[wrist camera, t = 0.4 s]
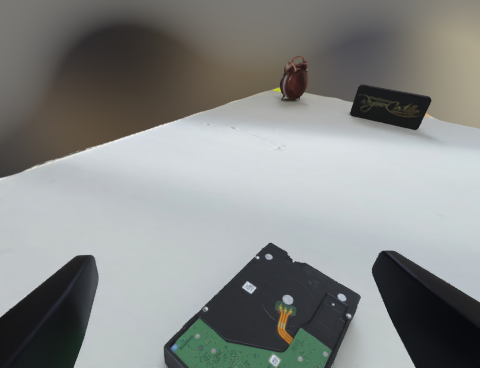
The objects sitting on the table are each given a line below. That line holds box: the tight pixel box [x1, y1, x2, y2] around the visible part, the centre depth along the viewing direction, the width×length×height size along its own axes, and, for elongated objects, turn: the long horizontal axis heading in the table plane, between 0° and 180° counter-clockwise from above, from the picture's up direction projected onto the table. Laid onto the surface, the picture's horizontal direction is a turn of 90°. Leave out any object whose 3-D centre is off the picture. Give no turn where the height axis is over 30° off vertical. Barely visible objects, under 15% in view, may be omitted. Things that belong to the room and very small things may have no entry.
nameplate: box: [350, 85, 431, 130], centre depth 85 cm, size 21×2×10 cm, turn 63°
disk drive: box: [164, 243, 361, 368], centre depth 22 cm, size 10×3×15 cm
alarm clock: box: [280, 56, 308, 100], centre depth 97 cm, size 11×5×15 cm, turn 127°
